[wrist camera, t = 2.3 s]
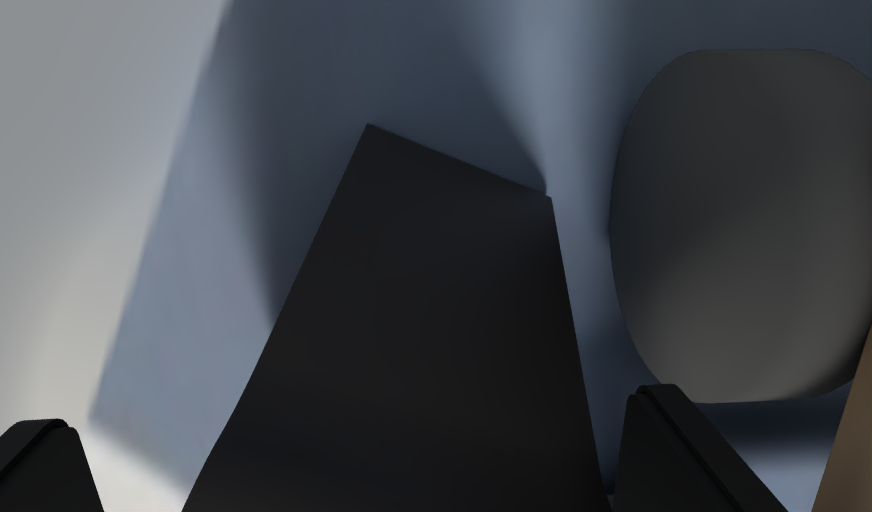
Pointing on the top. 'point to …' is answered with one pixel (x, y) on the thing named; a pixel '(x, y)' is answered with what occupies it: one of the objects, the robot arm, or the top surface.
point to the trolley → (754, 238)
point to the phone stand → (416, 357)
